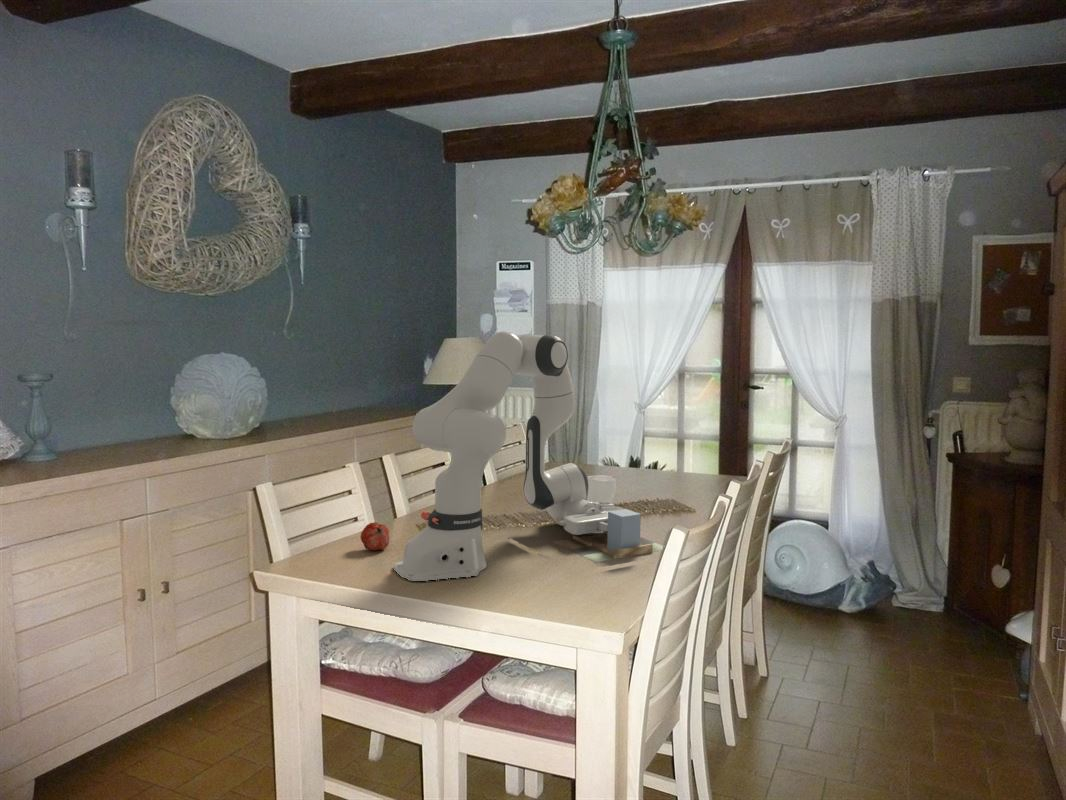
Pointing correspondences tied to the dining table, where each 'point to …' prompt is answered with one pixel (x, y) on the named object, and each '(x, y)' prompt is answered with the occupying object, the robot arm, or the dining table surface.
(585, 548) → the tray with wooden handles
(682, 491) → the dining table surface
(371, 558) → the dining table surface
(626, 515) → the block
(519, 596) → the dining table surface
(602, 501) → the cup
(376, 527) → the pomegranate
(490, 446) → the robot arm
